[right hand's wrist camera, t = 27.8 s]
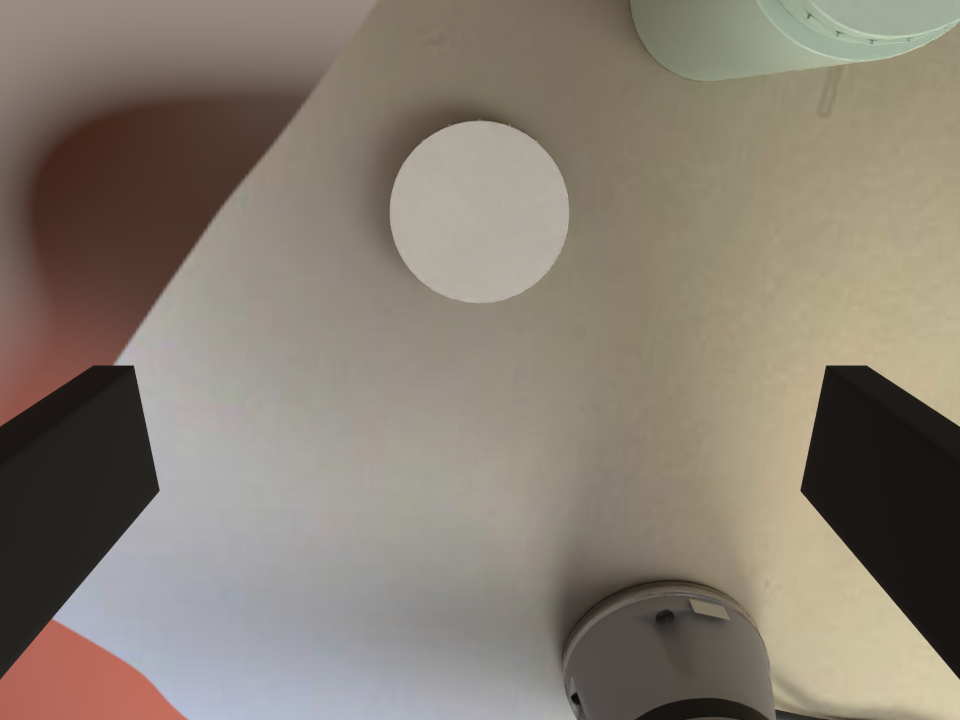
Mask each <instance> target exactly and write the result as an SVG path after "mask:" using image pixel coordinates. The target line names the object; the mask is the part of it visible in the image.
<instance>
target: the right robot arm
mask: <svg viewBox="0 0 960 720" xmlns="http://www.w3.org/2000/svg"><path fill="white" fill-rule="evenodd" d="M159 491H160V490H159V485H158V481H157V476H156V471H155V466H154V461H153V456H152V451H151V447H150V442H149V437H148V432H147V427H146V422H145V418H144V413H143V408H142V403H141V398H140V393H139V388H138V384H137V379H136V374H135V369H134V366H92V367H91V368H89V369H87V370H86V371H84V372H83V373H81V374H80V375H78V376H77V377H75V378H74V379H72V380H71V381H69V382H68V383H66V384H65V385H63V386H62V387H60V388H58V389H57V390H55V391H54V392H52V393H51V394H49V395H48V396H46V397H45V398H43V399H42V400H40V401H39V402H37V403H36V404H34V405H33V406H31V407H30V408H28V409H26V410H25V411H23V412H22V413H20V414H19V415H17V416H16V417H14V418H13V419H11V420H10V421H8V422H7V423H5V424H4V425H2V426H1V427H0V679H1V678H2V677H3V675H4V674H5V673H6V672H7V671H8V670H9V668H10V667H11V666H12V665H13V664H14V663H15V661H16V660H17V659H18V658H19V657H20V655H21V654H22V653H23V652H24V651H25V650H26V648H27V647H28V646H29V645H30V644H31V642H32V641H33V640H34V639H35V638H36V636H37V635H38V634H39V633H40V632H41V631H42V629H43V628H44V627H45V626H46V625H47V623H48V622H49V621H50V620H51V619H52V618H53V616H54V615H55V614H56V613H57V612H58V610H59V609H60V608H61V607H62V606H63V605H64V603H65V602H66V601H67V600H68V599H69V597H70V596H71V595H72V594H73V593H74V592H75V590H76V589H77V588H78V587H79V586H80V584H81V583H82V582H83V581H84V580H85V579H86V577H87V576H88V575H89V574H90V573H91V571H92V570H93V569H94V568H95V567H96V566H97V564H98V563H99V562H100V561H101V560H102V558H103V557H104V556H105V555H106V554H107V552H108V551H109V550H110V549H111V548H112V547H113V545H114V544H115V543H116V542H117V541H118V539H119V538H120V537H121V536H122V535H123V534H124V532H125V531H126V530H127V529H128V528H129V526H130V525H131V524H132V523H133V522H134V521H135V519H136V518H137V517H138V516H139V515H140V513H141V512H142V511H143V510H144V509H145V508H146V506H147V505H148V504H149V503H150V502H151V500H152V499H153V498H154V497H155V496H156V495H157V493H158V492H159ZM800 491H801V492H802V493H803V495H804V496H805V497H806V498H807V499H808V500H809V502H810V503H811V504H812V505H813V506H814V508H815V509H816V510H817V511H818V512H819V513H820V515H821V516H822V517H823V518H824V519H825V521H826V522H827V523H828V524H829V525H830V526H831V528H832V529H833V530H834V531H835V532H836V534H837V535H838V536H839V537H840V538H841V539H842V541H843V542H844V543H845V544H846V545H847V547H848V548H849V549H850V550H851V551H852V552H853V554H854V555H855V556H856V557H857V558H858V560H859V561H860V562H861V563H862V564H863V566H864V567H865V568H866V569H867V570H868V571H869V573H870V574H871V575H872V576H873V577H874V579H875V580H876V581H877V582H878V583H879V584H880V586H881V587H882V588H883V589H884V590H885V592H886V593H887V594H888V595H889V596H890V597H891V599H892V600H893V601H894V602H895V603H896V605H897V606H898V607H899V608H900V609H901V610H902V612H903V613H904V614H905V615H906V616H907V618H908V619H909V620H910V621H911V622H912V624H913V625H914V626H915V627H916V628H917V629H918V631H919V632H920V633H921V634H922V635H923V637H924V638H925V639H926V640H927V641H928V642H929V644H930V645H931V646H932V647H933V648H934V650H935V651H936V652H937V653H938V654H939V655H940V657H941V658H942V659H943V660H944V661H945V663H946V664H947V665H948V666H949V667H950V668H951V670H952V671H953V672H954V673H955V674H956V676H957V677H958V678H959V679H960V427H959V426H958V425H956V424H955V423H953V422H952V421H950V420H949V419H947V418H946V417H944V416H943V415H941V414H940V413H938V412H937V411H935V410H933V409H932V408H930V407H929V406H927V405H926V404H924V403H923V402H921V401H920V400H918V399H917V398H915V397H914V396H912V395H911V394H909V393H908V392H906V391H905V390H903V389H902V388H900V387H898V386H897V385H895V384H894V383H892V382H891V381H889V380H888V379H886V378H885V377H883V376H882V375H880V374H879V373H877V372H876V371H874V370H873V369H871V368H870V367H868V366H826V369H825V374H824V379H823V384H822V388H821V393H820V398H819V403H818V408H817V413H816V418H815V422H814V427H813V432H812V437H811V442H810V447H809V451H808V456H807V461H806V466H805V471H804V476H803V481H802V485H801V490H800ZM562 668H563V677H564V684H565V690H566V694H567V697H568V700H569V703H570V705H571V708H572V710H573V713H574V715H575V716H576V718H577V720H827V719H820V718H814V717H809V716H804V715H799V714H794V713H790V712H785V711H780V710H776V709H775V706H774V698H773V691H772V684H771V678H770V663H769V658H768V655H767V651H766V647H765V644H764V642H763V640H762V638H761V636H760V634H759V632H758V630H757V628H756V626H755V624H754V622H753V621H752V619H751V618H750V616H749V615H748V613H747V612H746V611H745V610H744V609H743V608H742V607H741V606H740V605H739V604H738V603H737V602H735V601H734V600H733V599H731V598H730V597H728V596H726V595H725V594H723V593H721V592H719V591H716V590H714V589H711V588H709V587H706V586H702V585H698V584H693V583H687V582H655V583H649V584H644V585H640V586H636V587H632V588H629V589H626V590H624V591H621V592H619V593H617V594H615V595H613V596H611V597H609V598H607V599H605V600H604V601H602V602H601V603H599V604H598V605H596V606H595V607H594V608H592V609H591V610H590V611H589V612H588V613H587V614H586V615H585V616H584V617H583V618H582V619H581V620H580V621H579V622H578V624H577V625H576V626H575V628H574V629H573V631H572V633H571V634H570V636H569V638H568V641H567V643H566V646H565V649H564V654H563V662H562Z"/></svg>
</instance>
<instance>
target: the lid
mask: <svg viewBox="0 0 960 720" xmlns="http://www.w3.org/2000/svg"><path fill="white" fill-rule="evenodd" d="M421 141H422V142H421V143H420V144H419V145H418V146H417V147H416V148H415V149H414V150H413V151H412V152H411V154H410V155H409V156H408V157H407V159H406V160H405V162H403V163H402V164H401V165H402V167H401V168H400V170H399V173H398V175H397V177H396V179H395V182H394V186H393V189H392V191H391V199H390V225H391V231H392V235H393V239H394V242H395V244H396V247H397V250H398V252H399V253H400V255H401V257H402V259H403V261H404V262H405V264H406V265H407V267H408V268H409V269H410V271H411V272H412V273H413V274H414V275H415V276H416V277H417V278H418V279H419V280H420V281H421V282H423V283H424V284H425V285H426V286H428V287H429V288H431V289H432V290H434V291H435V292H437V293H439V294H441V295H444V296H446V297H448V298H451V299H454V300H458V301H463V302H469V303H490V302H496V301H501V300H504V299H507V298H511V297H513V296H515V295H517V294H520V293H522V292H523V291H525V290H527V289H528V288H530V287H531V286H533V285H534V284H535V283H536V282H537V281H539V280H540V279H541V278H542V277H543V276H544V275H545V274H546V273H547V272H548V270H549V269H550V268H551V266H552V265H553V263H554V262H555V260H556V259H557V257H558V255H559V253H560V251H561V249H562V246H563V244H564V241H565V238H566V234H567V230H568V224H569V201H568V192H567V190H566V186H565V183H564V180H563V178H562V175H561V173H560V171H559V169H558V167H557V163H555V162H554V160H553V159H552V158H551V157H550V155H549V154H548V153H547V151H546V150H545V149H544V148H543V147H542V146H541V145H540V144H539V143H538V141H537V140H536V139H532V138H531V137H530V136H528V135H527V134H525V133H523V132H521V131H519V130H518V129H516V128H513V127H511V125H510V124H508V125H505V124H502V123H497V122H493V121H482V120H481V119H479V120H478V121H466V122H461V123H457V124H454V125H451V124H449V125H448V127H445V128H443V129H441V130H439V131H438V132H436V133H434V134H432V135H431V136H429V137H428V138H426V139H423V140H421Z"/></svg>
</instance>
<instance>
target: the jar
mask: <svg viewBox="0 0 960 720" xmlns="http://www.w3.org/2000/svg"><path fill="white" fill-rule="evenodd" d="M630 7H631V13H632V18H633V21H634V25H635V28H636V31H637V33H638V35H639V37H640V40H641V41H642V43H643V44H644V46H645V48H646V49H647V51H648V52H649V53H650V54H651V55H652V57H653V58H654V59H655V60H656V61H657V62H658V63H660V64H661V65H662V66H663V67H665V68H666V69H668V70H669V71H671V72H672V73H674V74H677V75H679V76H681V77H684V78H687V79H691V80H697V81H720V80H727V79H735V78H743V77H750V76H758V75H766V74H773V73H781V72H789V71H797V70H804V69H812V68H820V67H827V66H835V65H843V64H850V63H858V62H866V61H873V60H880V59H886V58H890V57H893V56H897V55H900V54H904V53H907V52H909V51H912V50H914V49H916V48H919V47H921V46H923V45H925V44H927V43H929V42H931V41H932V40H934V39H936V38H938V37H939V36H941V35H943V34H944V33H946V32H947V31H948V30H950V29H951V28H953V27H954V26H955V25H957V24H958V23H960V0H630Z"/></svg>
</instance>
